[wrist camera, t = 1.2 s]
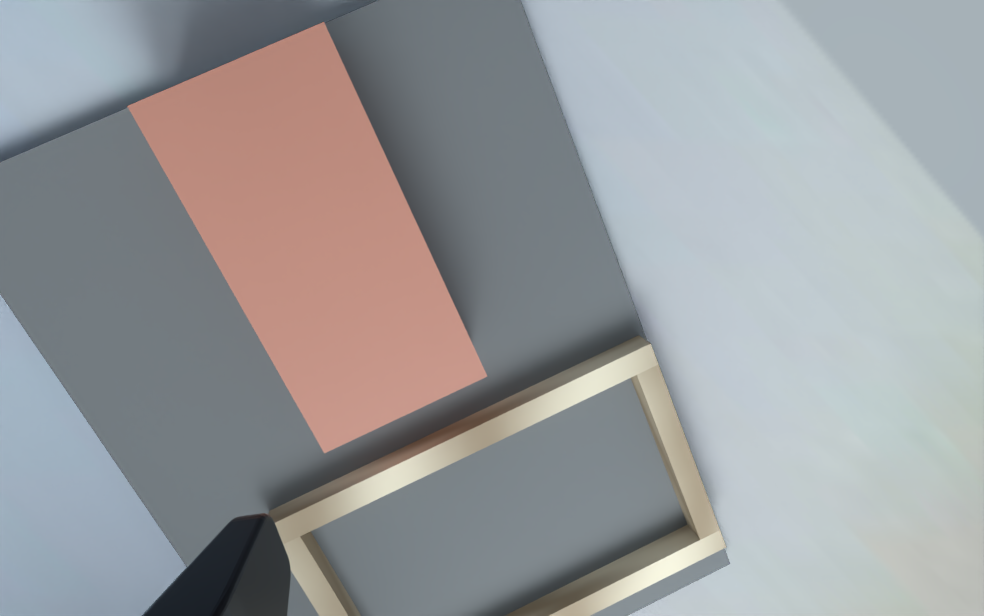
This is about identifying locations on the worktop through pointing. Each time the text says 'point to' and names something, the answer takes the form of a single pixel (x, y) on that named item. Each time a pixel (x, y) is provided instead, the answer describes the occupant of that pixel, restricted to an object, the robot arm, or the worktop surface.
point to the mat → (440, 495)
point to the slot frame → (575, 602)
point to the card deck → (312, 234)
